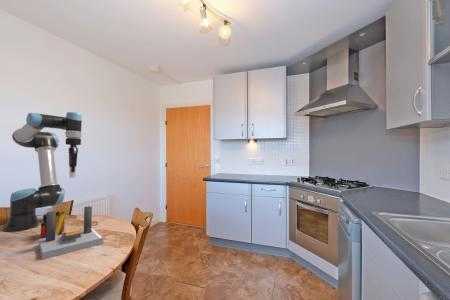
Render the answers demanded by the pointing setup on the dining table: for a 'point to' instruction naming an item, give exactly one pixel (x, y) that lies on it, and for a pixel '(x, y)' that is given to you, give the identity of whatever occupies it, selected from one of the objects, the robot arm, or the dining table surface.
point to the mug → (58, 224)
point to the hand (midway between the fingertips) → (72, 177)
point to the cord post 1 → (50, 226)
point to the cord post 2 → (87, 219)
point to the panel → (69, 243)
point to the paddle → (72, 232)
